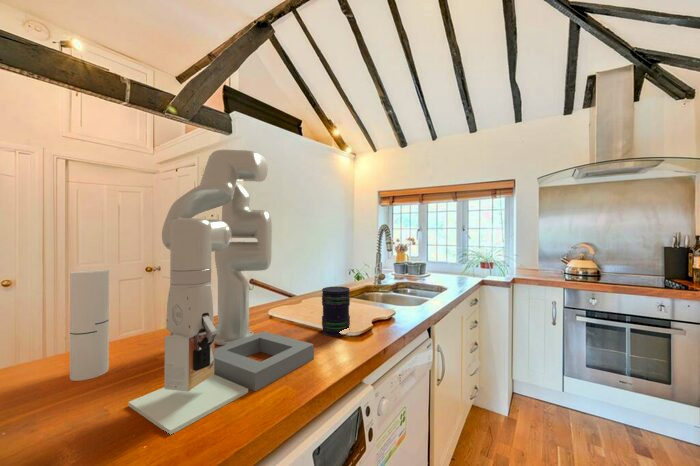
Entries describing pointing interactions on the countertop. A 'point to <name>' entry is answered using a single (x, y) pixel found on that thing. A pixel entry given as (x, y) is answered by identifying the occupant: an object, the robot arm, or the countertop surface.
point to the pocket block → (259, 374)
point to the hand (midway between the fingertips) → (190, 362)
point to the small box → (184, 363)
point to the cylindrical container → (89, 324)
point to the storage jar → (335, 310)
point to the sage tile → (186, 403)
